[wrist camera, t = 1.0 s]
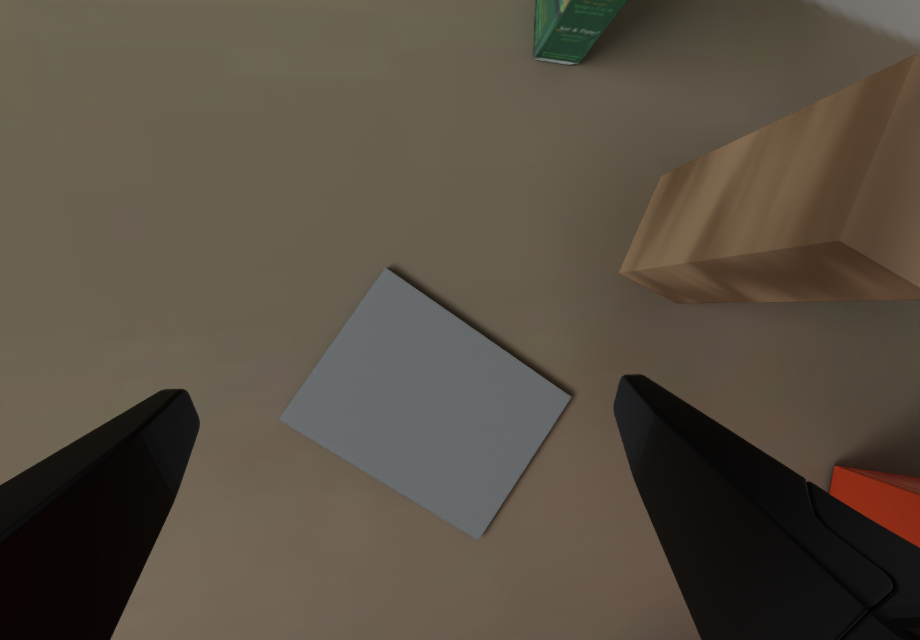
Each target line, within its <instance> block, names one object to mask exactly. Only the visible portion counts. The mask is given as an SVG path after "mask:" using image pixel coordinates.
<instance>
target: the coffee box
mask: <svg viewBox="0 0 920 640" xmlns="http://www.w3.org/2000/svg"><path fill="white" fill-rule="evenodd" d="M627 1H628V0H536V8H535V12H536V13H535V20H534V52H533V57H534V59H536V60H540V61H547V62H553V63H560V64H567V65H572V64H579V63H580V62H581V61H582V60H583V58H584V57H585V56H586V54H587V53H588V51H589V50H590V49H591V48H592V46H593V45H594V44H595V42H596V41H597V40H598V38H599V37H600V36H601V34H602V33H603V32H604V31H605V29H606V28H607V27H608V25H609V24H610V23H611V22H612V20H613V19H614V18H615V16H616V15H617V14H618V12H619V11H620V10H621V8H622V7H623V6H624V4H625V3H626V2H627Z"/></svg>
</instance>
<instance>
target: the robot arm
mask: <svg viewBox="0 0 920 640" xmlns="http://www.w3.org/2000/svg"><path fill="white" fill-rule="evenodd" d="M614 415H615V418H616V422H617V425H618V428H619V432H620V435H621V438H622V442H623V445H624V449H625V452H626V455H627V459H628V462H629V466H630V469H631V472H632V475H633V478H634V481H635V483H636V486H637V488H638V491H639V493H640V495H641V498H642V500H643V503H644V505H645V507H646V510H647V512H648V514H649V517H650V519H651V522H652V524H653V526H654V529H655V531H656V533H657V536H658V538H659V540H660V543H661V545H662V548H663V550H664V552H665V555H666V557H667V559H668V562H669V564H670V566H671V569H672V571H673V574H674V576H675V578H676V581H677V583H678V585H679V588H680V590H681V592H682V595H683V597H684V600H685V602H686V604H687V607H688V609H689V611H690V614H691V616H692V619H693V621H694V623H695V626H696V628H697V630H698V633H699V635H700V637H701V640H920V548H919V547H918V546H916V545H914V544H912V543H911V542H909V541H907V540H905V539H904V538H902V537H900V536H899V535H897V534H895V533H893V532H892V531H890V530H888V529H886V528H885V527H883V526H881V525H880V524H878V523H876V522H874V521H873V520H871V519H869V518H868V517H866V516H864V515H863V514H861V513H859V512H858V511H856V510H855V509H853V508H851V507H850V506H848V505H847V504H845V503H843V502H842V501H840V500H838V499H837V498H835V497H834V496H832V495H830V494H829V493H827V492H826V491H824V490H823V489H821V488H820V487H818V486H816V485H815V484H813V483H812V482H809V481H808V482H806V479H805V478H804V477H802V476H801V475H799V474H797V473H796V472H794V471H793V470H791V469H790V468H788V467H786V466H785V465H783V464H782V463H780V462H779V461H777V460H776V459H774V458H772V457H771V456H769V455H768V454H766V453H765V452H763V451H761V450H760V449H758V448H757V447H755V446H754V445H752V444H750V443H749V442H747V441H746V440H744V439H743V438H741V437H740V436H738V435H736V434H735V433H733V432H732V431H730V430H729V429H727V428H725V427H724V426H722V425H721V424H719V423H718V422H716V421H714V420H713V419H711V418H710V417H708V416H707V415H705V414H704V413H702V412H700V411H699V410H697V409H696V408H694V407H693V406H691V405H689V404H688V403H686V402H685V401H683V400H682V399H680V398H678V397H677V396H675V395H674V394H672V393H671V392H669V391H668V390H666V389H664V388H663V387H661V386H660V385H658V384H657V383H655V382H653V381H652V380H650V379H649V378H647V377H646V376H644V375H641V374H631V375H624V376H622V377H621V379H620V382H619V385H618V389H617V393H616V397H615V401H614ZM199 427H200V421H199V417H198V414H197V412H196V409H195V407H194V405H193V402H192V400H191V397H190V395H189V393H188V392H187V391H186V390H184V389H165V390H161V391H159V392H157V393H156V394H154V395H152V396H151V397H149V398H147V399H146V400H144V401H142V402H140V403H139V404H137V405H135V406H134V407H132V408H130V409H129V410H127V411H125V412H124V413H122V414H120V415H118V416H117V417H115V418H113V419H112V420H110V421H108V422H107V423H105V424H103V425H102V426H100V427H98V428H96V429H95V430H93V431H91V432H90V433H88V434H86V435H85V436H83V437H81V438H79V439H78V440H76V441H74V442H73V443H71V444H69V445H68V446H66V447H64V448H63V449H61V450H59V451H57V452H56V453H54V454H52V455H51V456H49V457H47V458H46V459H44V460H42V461H41V462H39V463H37V464H35V465H34V466H32V467H30V468H29V469H27V470H25V471H24V472H22V473H20V474H19V475H17V476H15V477H13V478H12V479H10V480H8V481H7V482H5V483H3V484H2V485H0V640H110V639H111V637H112V635H113V633H114V630H115V628H116V626H117V624H118V622H119V620H120V618H121V615H122V613H123V611H124V609H125V607H126V605H127V602H128V600H129V598H130V596H131V594H132V592H133V590H134V587H135V585H136V583H137V581H138V579H139V577H140V574H141V572H142V570H143V568H144V566H145V564H146V562H147V559H148V557H149V555H150V553H151V551H152V549H153V546H154V544H155V542H156V540H157V538H158V536H159V533H160V531H161V529H162V527H163V525H164V523H165V521H166V518H167V516H168V514H169V512H170V510H171V507H172V505H173V503H174V501H175V498H176V495H177V493H178V490H179V487H180V485H181V482H182V479H183V476H184V473H185V470H186V467H187V464H188V461H189V458H190V455H191V452H192V449H193V446H194V443H195V440H196V437H197V434H198V431H199Z"/></svg>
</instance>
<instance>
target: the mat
mask: <svg viewBox="0 0 920 640" xmlns="http://www.w3.org/2000/svg"><path fill="white" fill-rule="evenodd" d="M570 399H571V396H569V395H568V394H566V393H565V392H563V391H562V390H561V389H559V388H558V387H556V386H555V385H553V384H552V383H551V382H549V381H548V380H546V379H545V378H543V377H542V376H540V375H539V374H538V373H536V372H535V371H533V370H532V369H530V368H529V367H528V366H526V365H525V364H523V363H522V362H520V361H519V360H518V359H516V358H515V357H513V356H512V355H510V354H509V353H507V352H506V351H505V350H503V349H502V348H500V347H499V346H497V345H496V344H495V343H493V342H492V341H490V340H489V339H487V338H486V337H484V336H483V335H482V334H480V333H479V332H477V331H476V330H474V329H473V328H472V327H470V326H469V325H467V324H466V323H464V322H463V321H462V320H460V319H459V318H457V317H456V316H454V315H453V314H451V313H450V312H449V311H447V310H446V309H444V308H443V307H441V306H440V305H439V304H437V303H436V302H434V301H433V300H431V299H430V298H429V297H427V296H426V295H424V294H423V293H421V292H420V291H418V290H417V289H416V288H414V287H413V286H411V285H410V284H408V283H407V282H406V281H404V280H403V279H401V278H400V277H398V276H397V275H395V274H394V273H393V272H391V271H390V270H388V269H387V268H384V270H383V271H382V273H381V274H380V275H379V277H378V278H377V280H376V281H375V283H374V284H373V285H372V287H371V288H370V290H369V291H368V293H367V294H366V295H365V297H364V298H363V300H362V301H361V303H360V304H359V305H358V307H357V308H356V310H355V311H354V312H353V314H352V315H351V317H350V318H349V320H348V321H347V322H346V324H345V325H344V327H343V328H342V330H341V331H340V332H339V334H338V335H337V337H336V338H335V340H334V341H333V342H332V344H331V345H330V347H329V348H328V350H327V351H326V352H325V354H324V355H323V357H322V358H321V359H320V361H319V362H318V364H317V365H316V367H315V368H314V369H313V371H312V372H311V374H310V375H309V377H308V378H307V379H306V381H305V382H304V384H303V385H302V387H301V388H300V389H299V391H298V392H297V394H296V395H295V397H294V398H293V399H292V401H291V402H290V404H289V405H288V407H287V408H286V409H285V411H284V412H283V414H282V415H281V416H280V418H279V419H278V420H280V421H282V422H283V423H285V424H287V425H288V426H290V427H292V428H293V429H295V430H297V431H298V432H300V433H301V434H303V435H305V436H306V437H308V438H310V439H311V440H313V441H315V442H316V443H318V444H320V445H321V446H323V447H325V448H326V449H328V450H330V451H331V452H333V453H334V454H336V455H338V456H339V457H341V458H343V459H344V460H346V461H348V462H349V463H351V464H353V465H354V466H356V467H358V468H359V469H361V470H363V471H364V472H366V473H368V474H369V475H371V476H372V477H374V478H376V479H377V480H379V481H381V482H382V483H384V484H386V485H387V486H389V487H391V488H392V489H394V490H396V491H397V492H399V493H401V494H402V495H404V496H405V497H407V498H409V499H410V500H412V501H414V502H415V503H417V504H419V505H420V506H422V507H424V508H425V509H427V510H429V511H430V512H432V513H434V514H435V515H437V516H438V517H440V518H442V519H443V520H445V521H447V522H448V523H450V524H452V525H453V526H455V527H457V528H458V529H460V530H462V531H463V532H465V533H467V534H468V535H470V536H471V537H473V538H475V539H476V540H479V539H480V537H481V536H482V534H483V533H484V531H485V530H486V528H487V527H488V525H489V523H490V522H491V520H492V519H493V517H494V516H495V514H496V513H497V511H498V510H499V508H500V507H501V505H502V503H503V502H504V500H505V499H506V497H507V496H508V494H509V493H510V491H511V490H512V488H513V487H514V485H515V483H516V482H517V480H518V479H519V477H520V476H521V474H522V473H523V471H524V470H525V468H526V466H527V465H528V463H529V462H530V460H531V459H532V457H533V456H534V454H535V453H536V451H537V450H538V448H539V446H540V445H541V443H542V442H543V440H544V439H545V437H546V436H547V434H548V433H549V431H550V430H551V428H552V426H553V425H554V423H555V422H556V420H557V419H558V417H559V416H560V414H561V413H562V411H563V409H564V408H565V406H566V405H567V403H568V402H569V400H570Z"/></svg>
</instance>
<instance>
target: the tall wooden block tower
mask: <svg viewBox="0 0 920 640" xmlns="http://www.w3.org/2000/svg"><path fill="white" fill-rule="evenodd" d="M619 274H621V275H623V276H625V277H627V278H629V279H631V280H633V281H635V282H637V283H639V284H641V285H643V286H645V287H647V288H649V289H651V290H653V291H654V292H656V293H658V294H660V295H662V296H664V297H666V298H668V299H670V300H672V301H674V302H676V303H727V302H797V301H868V300H920V56H919V55H917V54H915V55H913V56H911V57H909V58H907V59H905V60H903V61H901V62H898V63H896V64H894V65H892V66H890V67H888V68H886V69H884V70H882V71H880V72H878V73H875V74H873V75H871V76H869V77H867V78H865V79H863V80H861V81H859V82H857V83H855V84H852V85H850V86H848V87H846V88H844V89H842V90H840V91H838V92H836V93H834V94H832V95H829V96H827V97H825V98H823V99H821V100H819V101H817V102H815V103H813V104H811V105H809V106H807V107H804V108H802V109H800V110H798V111H796V112H794V113H792V114H790V115H788V116H786V117H784V118H781V119H779V120H777V121H775V122H773V123H771V124H769V125H767V126H765V127H763V128H761V129H758V130H756V131H754V132H752V133H750V134H748V135H746V136H744V137H742V138H740V139H738V140H735V141H733V142H731V143H729V144H727V145H725V146H723V147H721V148H719V149H717V150H715V151H713V152H710V153H708V154H706V155H704V156H702V157H700V158H698V159H696V160H694V161H692V162H690V163H687V164H685V165H683V166H681V167H679V168H677V169H675V170H673V171H671V172H669V173H667V174H664V175H662V176H661V177H660V179H659V182H658V184H657V186H656V189H655V191H654V193H653V195H652V198H651V200H650V202H649V205H648V207H647V209H646V211H645V214H644V216H643V218H642V221H641V223H640V225H639V227H638V230H637V232H636V234H635V237H634V239H633V241H632V243H631V246H630V248H629V250H628V253H627V255H626V257H625V259H624V262H623V264H622V266H621V269H620V271H619Z"/></svg>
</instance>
